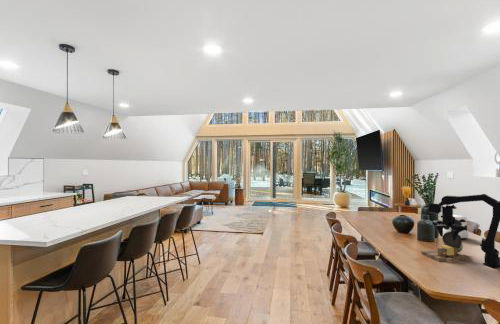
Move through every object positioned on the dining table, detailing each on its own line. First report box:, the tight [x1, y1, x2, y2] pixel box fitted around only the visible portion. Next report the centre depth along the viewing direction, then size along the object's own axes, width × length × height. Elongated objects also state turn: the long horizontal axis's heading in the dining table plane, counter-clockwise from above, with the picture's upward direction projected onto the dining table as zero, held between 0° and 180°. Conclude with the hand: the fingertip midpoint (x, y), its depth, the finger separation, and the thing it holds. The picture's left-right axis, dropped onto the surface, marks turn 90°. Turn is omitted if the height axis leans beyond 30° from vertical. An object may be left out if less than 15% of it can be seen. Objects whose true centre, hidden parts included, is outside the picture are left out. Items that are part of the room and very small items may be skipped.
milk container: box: [443, 214, 469, 240], centre depth 220 cm, size 17×17×18 cm
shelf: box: [420, 247, 467, 262], centre depth 173 cm, size 14×20×7 cm
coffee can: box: [441, 232, 464, 253], centre depth 178 cm, size 10×10×14 cm
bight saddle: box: [440, 245, 454, 255], centre depth 170 cm, size 5×4×5 cm
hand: (447, 238), depth 173 cm, fingers open, 9 cm apart
